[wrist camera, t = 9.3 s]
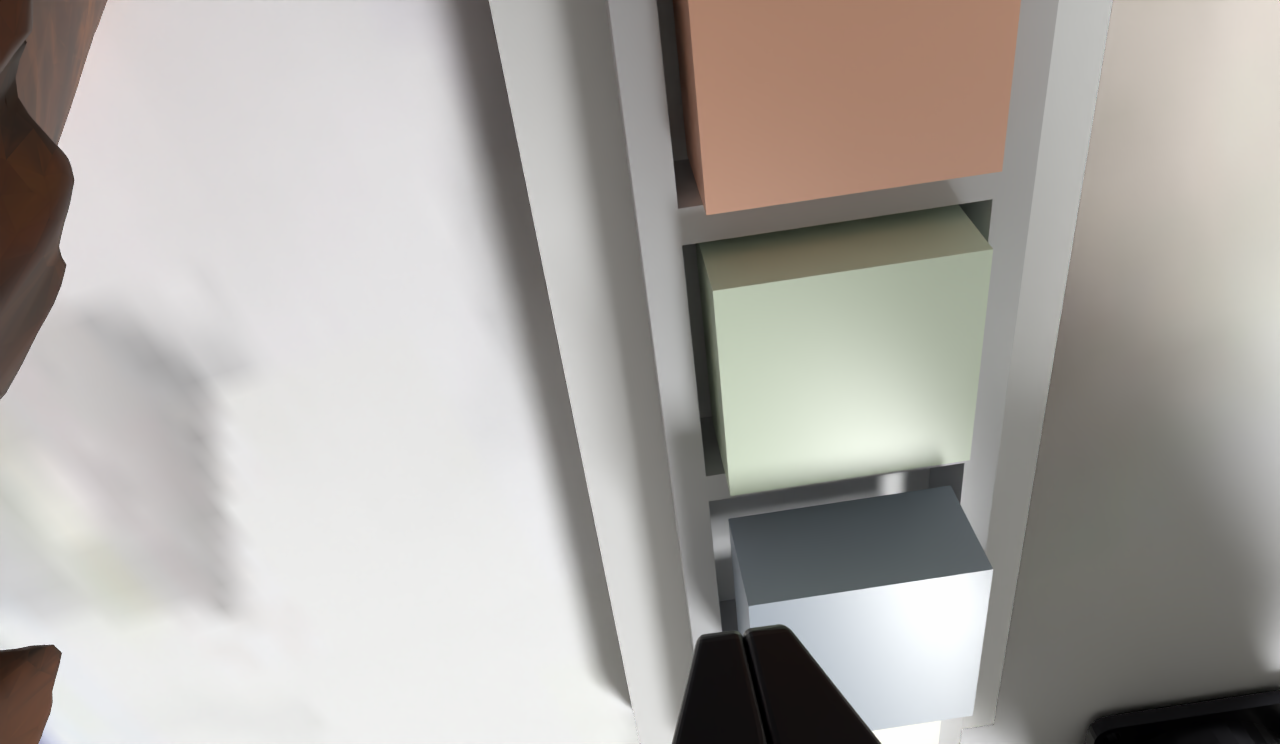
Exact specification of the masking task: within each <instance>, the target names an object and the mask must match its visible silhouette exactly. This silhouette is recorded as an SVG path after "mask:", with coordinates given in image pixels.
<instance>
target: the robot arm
mask: <svg viewBox="0 0 1280 744" xmlns="http://www.w3.org/2000/svg"><path fill="white" fill-rule="evenodd" d="M672 744H882V743H881V742H880V741H879V740H878V738H877V737H876V736H875V735H874V733H873V732H872V731H871V730H870V728H869V727H868V726H867V725H866V723H865V722H864V721H863V719H862V718H861V717H860V716H859V714H858V713H857V712H856V711H855V709H854V708H853V707H852V706H851V704H850V703H849V702H848V701H847V699H846V698H845V697H844V696H843V694H842V693H841V692H840V691H839V689H838V688H837V687H836V685H835V684H834V683H833V682H832V680H831V679H830V678H829V677H828V675H827V674H826V673H825V672H824V670H823V669H822V668H821V667H820V665H819V664H818V663H817V662H816V660H815V659H814V658H813V656H812V655H811V654H810V653H809V651H808V650H807V649H806V648H805V646H804V645H803V644H802V643H801V641H800V640H799V639H798V638H797V636H796V635H795V634H794V633H793V631H792V630H791V629H789V628H788V627H787V626H785V625H782V624H777V625H769V626H762V627H754V628H749V629H747V630H746V631H744V633H743V636H742V635H741V633H740V632H738V631H734V630H731V631H724V632H716V633H708V634H703V635H701V636H700V637H699V638H698V639H697V641H696V644H695V648H694V652H693V656H692V660H691V665H690V669H689V673H688V677H687V681H686V686H685V690H684V694H683V698H682V702H681V707H680V711H679V715H678V719H677V723H676V728H675V732H674V736H673V740H672ZM1084 744H1280V690H1278V691H1271V692H1264V693H1258V694H1251V695H1245V696H1238V697H1231V698H1225V699H1218V700H1211V701H1205V702H1198V703H1192V704H1185V705H1178V706H1172V707H1165V708H1159V709H1152V710H1145V711H1139V712H1132V713H1126V714H1119V715H1112V716H1107V717H1103V718H1100V719H1098V720H1096V721H1095V722H1093V723H1092V724H1091V725H1090V727H1089V729H1088V732H1087V736H1086V740H1085V743H1084Z"/></svg>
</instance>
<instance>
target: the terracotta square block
mask: <svg viewBox="0 0 1280 744" xmlns="http://www.w3.org/2000/svg"><path fill="white" fill-rule="evenodd" d="M1020 5H1021V0H673V11H674V22H675V32H676V43H677V53H678V64H679V74H680V85H681V96H682V106H683V117H684V127H685V138H686V148H687V156H688V159H689V162H690V165H691V168H692V171H693V175H694V178H695V181H696V184H697V187H698V190H699V193H700V197H701V200H702V203H703V206H704V209H705V212H706V215H712V214H719V213H726V212H733V211H739V210H746V209H753V208H760V207H766V206H773V205H780V204H787V203H793V202H800V201H807V200H813V199H820V198H827V197H834V196H840V195H847V194H854V193H861V192H867V191H874V190H881V189H888V188H894V187H901V186H908V185H914V184H921V183H928V182H935V181H941V180H948V179H955V178H962V177H968V176H975V175H982V174H989V173H995V172H1002V168H1003V159H1004V150H1005V141H1006V132H1007V123H1008V114H1009V105H1010V96H1011V87H1012V78H1013V69H1014V60H1015V51H1016V41H1017V32H1018V23H1019V14H1020Z"/></svg>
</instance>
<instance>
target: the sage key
mask: <svg viewBox="0 0 1280 744" xmlns="http://www.w3.org/2000/svg"><path fill="white" fill-rule="evenodd" d="M695 244H696V255H697V265H698V276H699V286H700V297H701V308H702V318H703V329H704V339H705V350H706V360H707V371H708V382H709V392H710V403H711V413H712V422H713V426H714V430H715V434H716V438H717V442H718V447H719V451H720V455H721V459H722V463H723V467H724V472H725V476H726V480H727V484H728V488H729V492H730V496H735V495H741V494H748V493H755V492H761V491H768V490H775V489H781V488H788V487H795V486H801V485H808V484H815V483H821V482H828V481H835V480H841V479H848V478H855V477H861V476H868V475H875V474H881V473H888V472H895V471H901V470H908V469H915V468H921V467H928V466H935V465H941V464H948V463H955V462H961V461H968V460H970V455H971V446H972V437H973V428H974V419H975V410H976V401H977V392H978V383H979V374H980V365H981V356H982V347H983V338H984V329H985V319H986V310H987V301H988V292H989V283H990V274H991V265H992V256H993V248H992V247H991V246H990V244H989V243H988V242H987V241H986V239H985V238H984V237H983V235H982V234H981V233H980V232H979V230H978V229H977V228H976V227H975V225H974V224H973V223H972V221H971V220H970V219H969V218H968V216H967V215H966V214H965V212H964V211H963V210H962V209H961V207H960V206H959V205H951V206H944V207H937V208H931V209H924V210H917V211H911V212H904V213H897V214H890V215H884V216H877V217H870V218H863V219H857V220H850V221H843V222H837V223H830V224H823V225H816V226H810V227H803V228H796V229H789V230H783V231H776V232H769V233H763V234H756V235H749V236H742V237H736V238H729V239H722V240H715V241H709V242H702V243H695Z"/></svg>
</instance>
